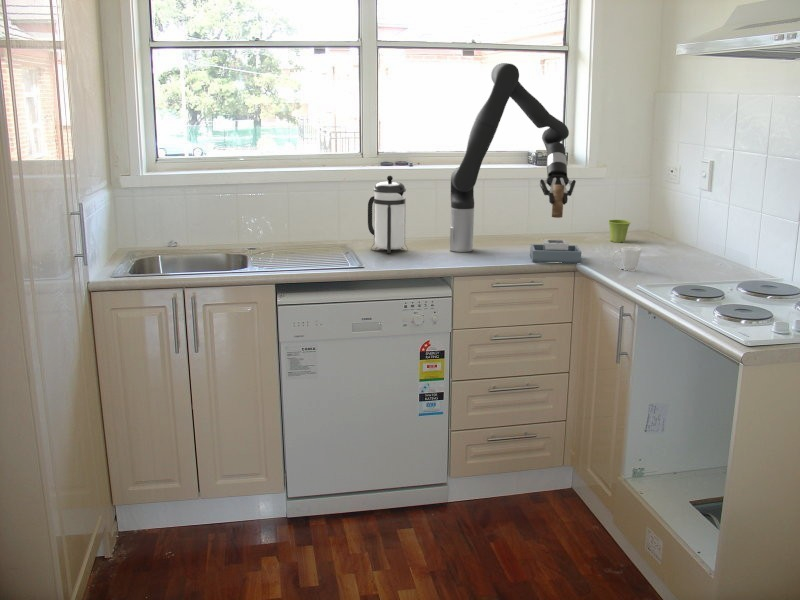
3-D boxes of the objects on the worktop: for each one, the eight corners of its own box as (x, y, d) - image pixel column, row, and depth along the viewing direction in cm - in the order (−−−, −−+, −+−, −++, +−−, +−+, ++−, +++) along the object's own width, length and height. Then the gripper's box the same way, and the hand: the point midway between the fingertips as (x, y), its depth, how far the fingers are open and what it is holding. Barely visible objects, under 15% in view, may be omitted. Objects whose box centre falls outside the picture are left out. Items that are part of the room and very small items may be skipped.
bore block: (544, 259, 301) (545, 243, 300) (542, 254, 309) (543, 239, 308) (567, 259, 300) (568, 244, 299) (564, 254, 309) (565, 239, 307)
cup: (639, 272, 285) (641, 250, 283) (611, 271, 287) (613, 249, 285) (639, 268, 292) (641, 247, 289) (611, 266, 294) (612, 245, 292)
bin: (532, 262, 300) (533, 250, 299) (529, 255, 312) (530, 244, 311) (580, 263, 298) (581, 252, 297) (576, 256, 311) (576, 245, 310)
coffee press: (409, 246, 326) (410, 173, 319) (406, 254, 311) (407, 178, 303) (368, 245, 328) (367, 172, 320) (362, 253, 313) (362, 177, 305)
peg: (552, 217, 300) (554, 185, 296) (551, 215, 303) (552, 184, 300) (562, 217, 299) (564, 185, 296) (561, 216, 303) (563, 184, 300)
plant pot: (630, 240, 344) (632, 220, 342) (627, 244, 336) (629, 223, 333) (608, 238, 348) (609, 219, 345) (605, 242, 339) (606, 222, 337)
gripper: (539, 160, 304) (540, 196, 295) (576, 161, 303) (579, 197, 294) (537, 173, 310) (538, 208, 302) (574, 173, 309) (576, 209, 301)
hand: (558, 202), depth 298 cm, fingers closed on peg, 4 cm apart
